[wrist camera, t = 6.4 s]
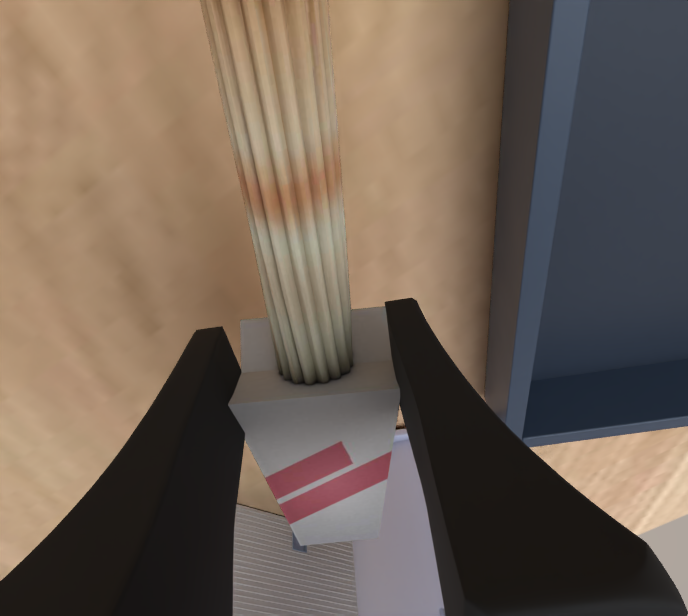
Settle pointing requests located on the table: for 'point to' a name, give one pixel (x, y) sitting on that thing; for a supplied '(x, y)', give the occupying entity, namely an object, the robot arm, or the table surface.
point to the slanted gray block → (288, 570)
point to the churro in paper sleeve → (302, 277)
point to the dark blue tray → (591, 222)
